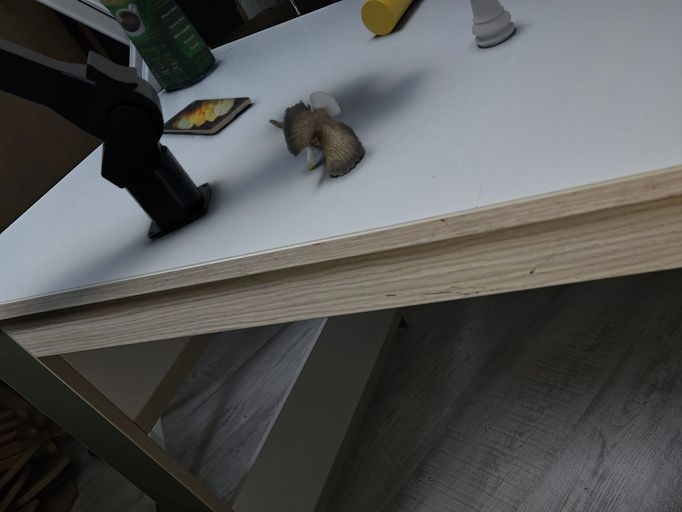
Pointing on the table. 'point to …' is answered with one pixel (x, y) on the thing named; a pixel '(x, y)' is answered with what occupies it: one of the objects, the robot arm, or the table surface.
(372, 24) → the yellow cylindrical tube
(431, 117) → the table surface
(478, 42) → the rook chess piece
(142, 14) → the coffee jar
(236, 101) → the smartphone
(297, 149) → the eagle figurine
